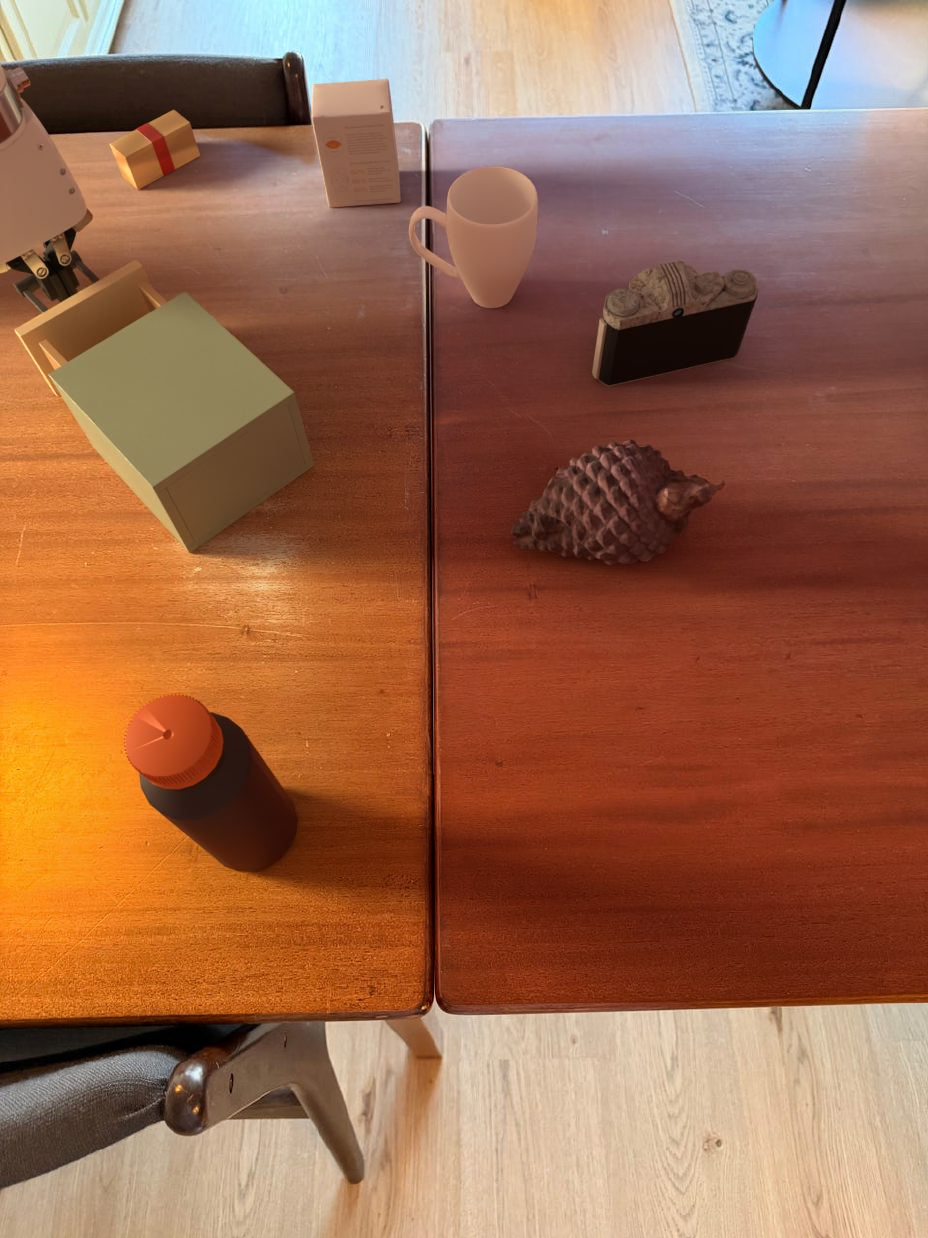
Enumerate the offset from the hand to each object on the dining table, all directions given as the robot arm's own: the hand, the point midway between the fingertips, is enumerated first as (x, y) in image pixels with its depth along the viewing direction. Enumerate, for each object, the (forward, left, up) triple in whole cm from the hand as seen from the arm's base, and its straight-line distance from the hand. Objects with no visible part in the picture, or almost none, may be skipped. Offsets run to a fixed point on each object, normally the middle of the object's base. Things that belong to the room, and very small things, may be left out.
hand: (66, 297), depth 85 cm
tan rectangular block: (-17, +20, -6) cm, 27 cm away
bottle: (+51, -17, -6) cm, 54 cm away
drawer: (+8, 0, -5) cm, 9 cm away
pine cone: (+51, +21, -6) cm, 55 cm away
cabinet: (+20, 0, -6) cm, 21 cm away
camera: (+40, +40, -6) cm, 57 cm away
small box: (+2, +34, -6) cm, 35 cm away
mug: (+22, +32, -6) cm, 39 cm away
